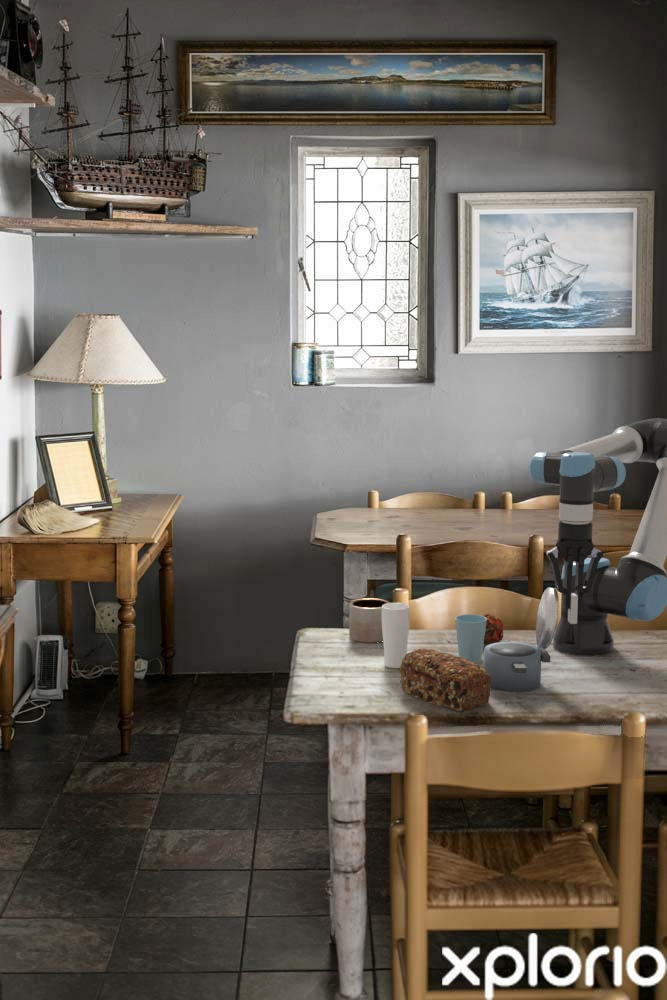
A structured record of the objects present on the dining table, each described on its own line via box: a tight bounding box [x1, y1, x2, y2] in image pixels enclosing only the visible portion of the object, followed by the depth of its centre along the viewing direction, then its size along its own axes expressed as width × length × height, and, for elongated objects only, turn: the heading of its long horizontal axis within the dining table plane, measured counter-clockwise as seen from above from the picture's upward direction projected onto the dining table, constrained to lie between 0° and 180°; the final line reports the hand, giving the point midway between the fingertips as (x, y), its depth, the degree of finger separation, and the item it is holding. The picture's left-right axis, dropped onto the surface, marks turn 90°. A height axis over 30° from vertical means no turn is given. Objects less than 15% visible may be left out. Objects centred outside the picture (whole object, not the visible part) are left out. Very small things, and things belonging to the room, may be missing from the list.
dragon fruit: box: [483, 613, 504, 647], centre depth 290 cm, size 8×8×12 cm
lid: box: [535, 586, 560, 653], centre depth 257 cm, size 14×14×2 cm
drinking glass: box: [382, 602, 411, 669], centre depth 271 cm, size 7×7×15 cm
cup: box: [454, 613, 487, 663], centre depth 277 cm, size 8×8×10 cm
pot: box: [483, 640, 551, 694], centre depth 259 cm, size 15×21×8 cm
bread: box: [399, 648, 491, 712], centre depth 249 cm, size 19×11×10 cm, turn 42°
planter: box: [348, 597, 390, 644], centre depth 295 cm, size 11×11×10 cm
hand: (572, 622), depth 257 cm, fingers closed
